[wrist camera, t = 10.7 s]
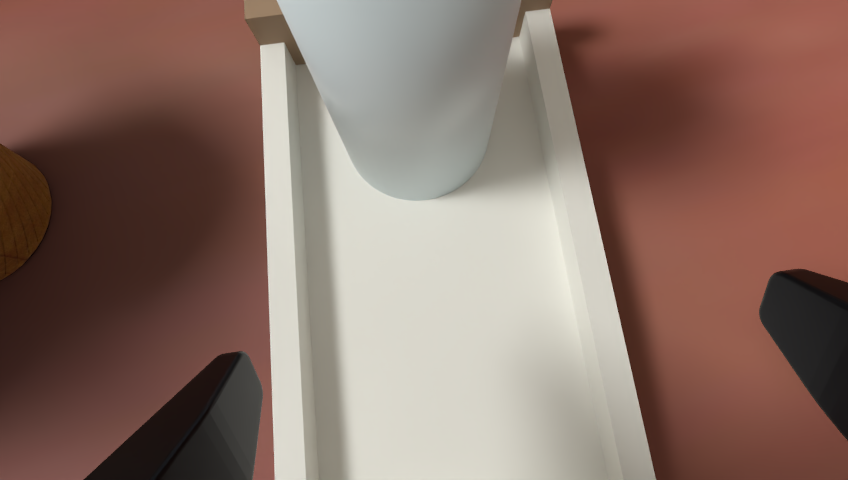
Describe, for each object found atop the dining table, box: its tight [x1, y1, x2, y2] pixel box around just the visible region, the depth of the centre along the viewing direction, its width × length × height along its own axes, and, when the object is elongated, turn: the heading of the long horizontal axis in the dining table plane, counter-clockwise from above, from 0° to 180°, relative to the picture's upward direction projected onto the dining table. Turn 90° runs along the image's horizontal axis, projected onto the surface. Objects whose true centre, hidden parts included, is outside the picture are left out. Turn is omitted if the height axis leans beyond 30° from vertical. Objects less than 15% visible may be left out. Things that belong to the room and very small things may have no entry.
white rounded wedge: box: [277, 0, 521, 201], centre depth 12 cm, size 6×6×13 cm
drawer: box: [244, 0, 656, 480], centre depth 16 cm, size 20×12×4 cm, turn 7°
